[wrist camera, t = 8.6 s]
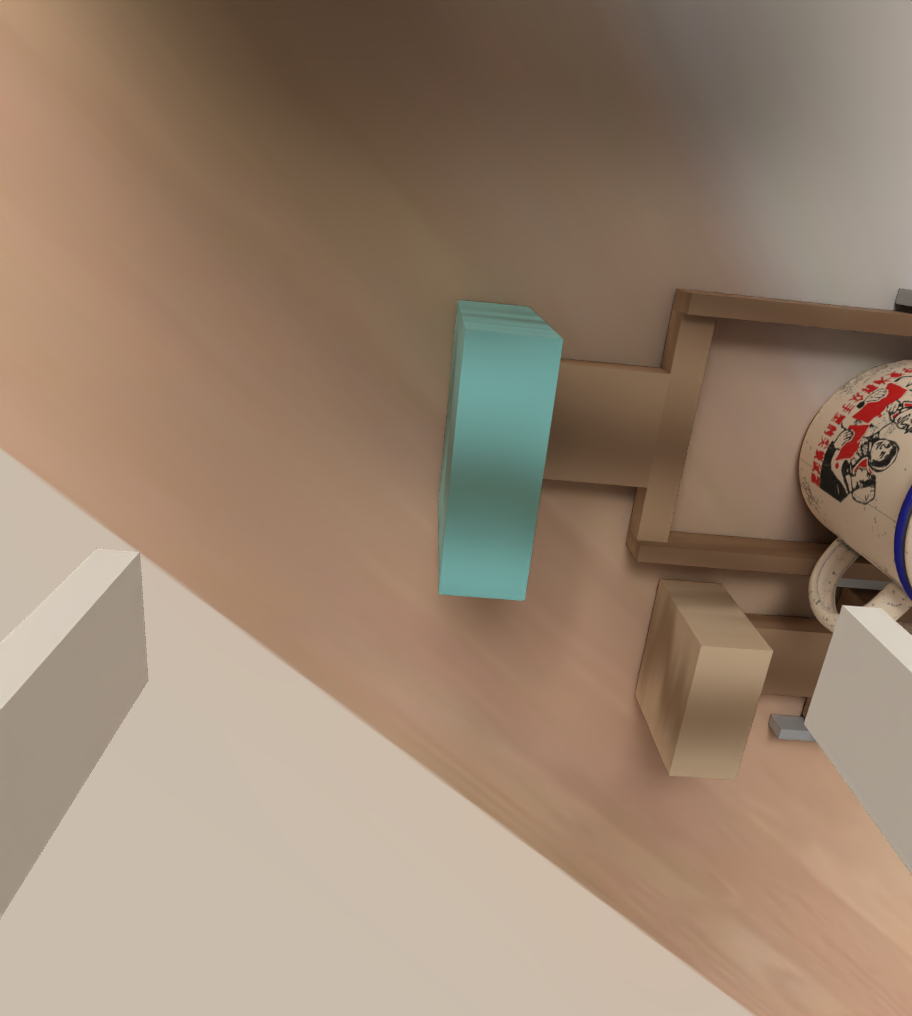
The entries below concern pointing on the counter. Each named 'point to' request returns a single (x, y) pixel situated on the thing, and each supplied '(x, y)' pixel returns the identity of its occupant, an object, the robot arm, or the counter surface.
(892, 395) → the teacup with lid
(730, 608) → the sled
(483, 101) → the counter surface
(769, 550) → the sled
